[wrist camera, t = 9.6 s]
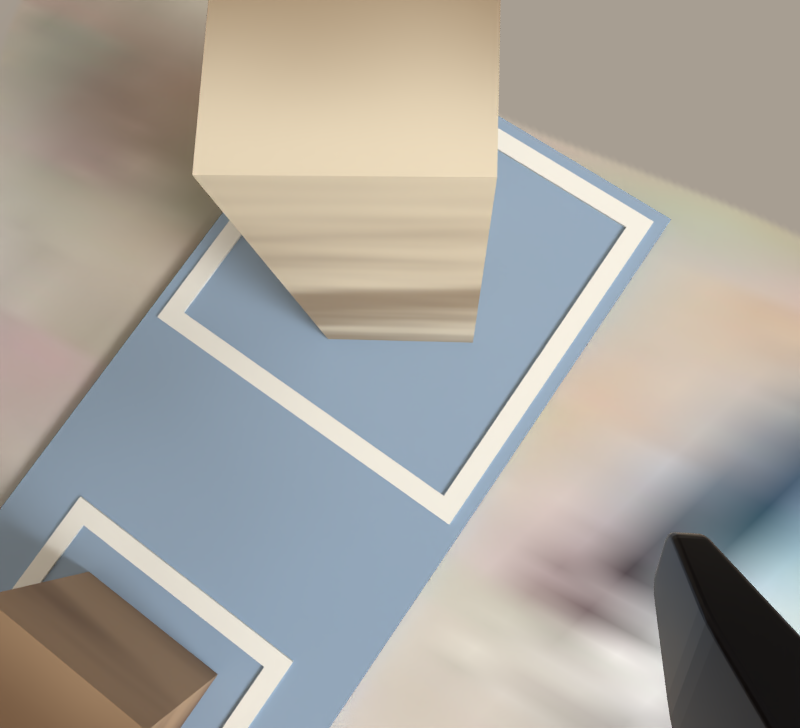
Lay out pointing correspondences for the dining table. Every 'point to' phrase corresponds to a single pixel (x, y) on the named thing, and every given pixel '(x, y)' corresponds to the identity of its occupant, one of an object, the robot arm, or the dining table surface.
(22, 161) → the dining table surface
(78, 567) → the blueprint mat
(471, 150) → the beech block
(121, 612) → the walnut cube
